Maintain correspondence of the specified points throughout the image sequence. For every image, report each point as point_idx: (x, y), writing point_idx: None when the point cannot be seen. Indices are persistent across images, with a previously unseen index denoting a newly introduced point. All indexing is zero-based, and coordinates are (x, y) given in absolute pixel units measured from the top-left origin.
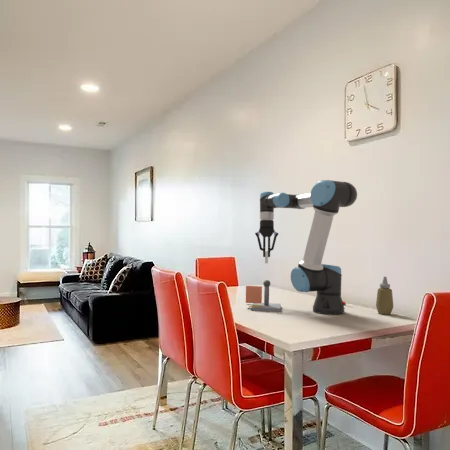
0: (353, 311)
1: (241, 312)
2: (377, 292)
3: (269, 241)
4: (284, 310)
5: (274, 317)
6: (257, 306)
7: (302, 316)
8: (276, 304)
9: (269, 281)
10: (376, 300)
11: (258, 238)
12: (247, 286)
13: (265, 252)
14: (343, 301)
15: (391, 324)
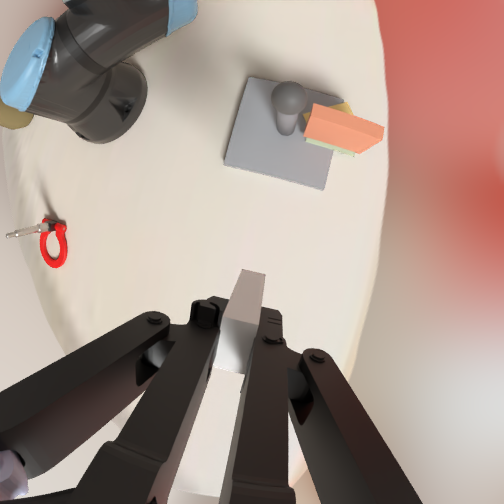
0: (60, 123)
1: (372, 80)
2: (3, 108)
3: (152, 407)
4: (229, 101)
5: (285, 20)
6: None
7: (203, 33)
8: (243, 148)
9: (277, 87)
10: (16, 112)
11: (391, 484)
12: (377, 125)
13: (256, 317)
14: (41, 250)
15: None
